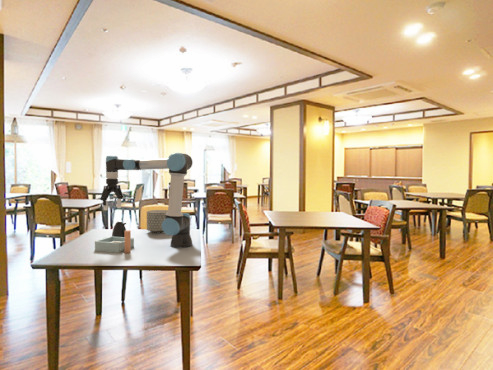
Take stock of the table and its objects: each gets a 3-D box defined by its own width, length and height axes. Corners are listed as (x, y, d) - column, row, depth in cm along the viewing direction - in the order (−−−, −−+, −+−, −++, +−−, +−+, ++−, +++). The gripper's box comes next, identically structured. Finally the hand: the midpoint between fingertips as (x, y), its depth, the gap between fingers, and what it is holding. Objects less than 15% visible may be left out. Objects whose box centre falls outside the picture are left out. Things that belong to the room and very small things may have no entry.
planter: (164, 229, 272) (164, 209, 271) (173, 233, 257) (173, 211, 257) (143, 231, 260) (143, 210, 259) (152, 235, 245) (152, 213, 245)
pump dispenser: (121, 244, 217) (121, 222, 216) (108, 243, 219) (108, 222, 218) (130, 240, 227) (129, 220, 226) (117, 240, 229) (117, 219, 228)
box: (133, 246, 210) (133, 238, 210) (118, 252, 195) (118, 243, 194) (111, 244, 214) (111, 236, 214) (94, 250, 199) (94, 241, 199)
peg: (131, 252, 197) (131, 230, 196) (128, 253, 193) (128, 231, 192) (126, 251, 197) (126, 230, 197) (123, 253, 194) (123, 231, 193)
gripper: (119, 178, 223) (119, 206, 224) (94, 178, 199) (94, 211, 200) (128, 178, 221) (128, 207, 222) (103, 178, 197) (104, 211, 198)
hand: (112, 209), depth 211 cm, fingers open, 13 cm apart
